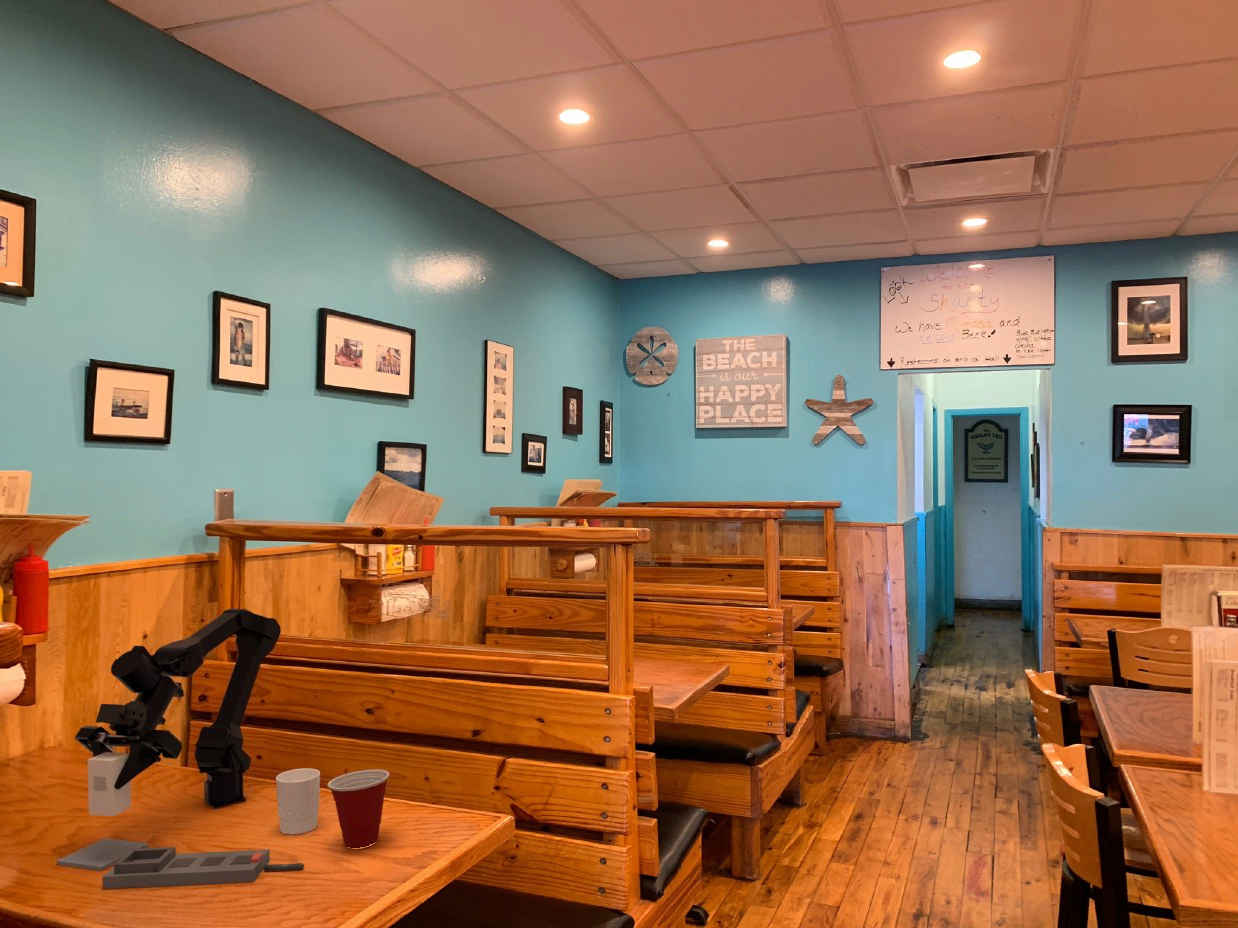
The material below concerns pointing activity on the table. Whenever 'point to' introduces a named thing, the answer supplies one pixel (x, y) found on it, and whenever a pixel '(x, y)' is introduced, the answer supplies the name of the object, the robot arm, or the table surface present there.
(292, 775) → the white cup
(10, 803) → the table surface
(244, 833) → the table surface
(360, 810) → the plastic cup
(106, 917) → the table surface
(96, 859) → the pad
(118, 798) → the block
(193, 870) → the power strip
